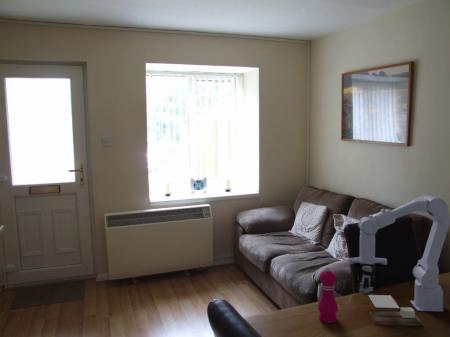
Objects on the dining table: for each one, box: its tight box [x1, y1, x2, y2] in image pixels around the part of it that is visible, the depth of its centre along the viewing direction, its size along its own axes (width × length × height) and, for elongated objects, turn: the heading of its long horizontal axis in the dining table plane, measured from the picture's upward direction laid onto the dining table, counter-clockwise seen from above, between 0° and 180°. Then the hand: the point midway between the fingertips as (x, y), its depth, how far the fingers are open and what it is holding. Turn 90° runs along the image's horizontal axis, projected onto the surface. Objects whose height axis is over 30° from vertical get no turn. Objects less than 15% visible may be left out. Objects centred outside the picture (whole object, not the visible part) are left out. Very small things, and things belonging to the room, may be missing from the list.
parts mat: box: [367, 294, 400, 309], centre depth 153 cm, size 9×11×1 cm
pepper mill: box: [317, 266, 339, 324], centre depth 140 cm, size 7×7×20 cm
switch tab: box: [399, 306, 416, 318], centre depth 138 cm, size 4×3×2 cm
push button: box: [356, 265, 375, 294], centre depth 150 cm, size 7×5×10 cm
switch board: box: [368, 310, 422, 327], centre depth 139 cm, size 16×7×2 cm, turn 84°
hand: (366, 281), depth 150 cm, fingers closed on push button, 5 cm apart
